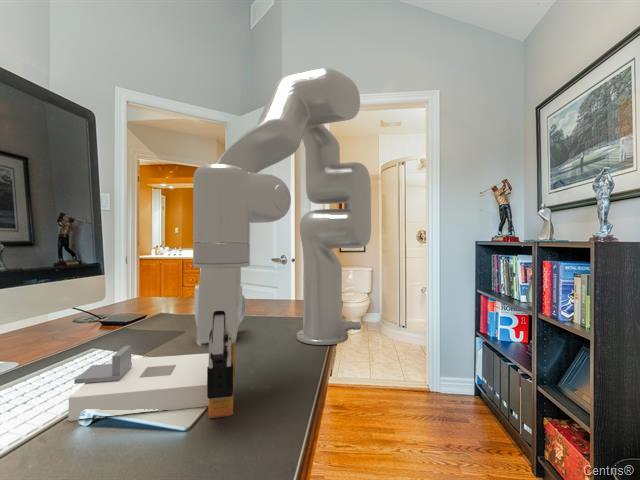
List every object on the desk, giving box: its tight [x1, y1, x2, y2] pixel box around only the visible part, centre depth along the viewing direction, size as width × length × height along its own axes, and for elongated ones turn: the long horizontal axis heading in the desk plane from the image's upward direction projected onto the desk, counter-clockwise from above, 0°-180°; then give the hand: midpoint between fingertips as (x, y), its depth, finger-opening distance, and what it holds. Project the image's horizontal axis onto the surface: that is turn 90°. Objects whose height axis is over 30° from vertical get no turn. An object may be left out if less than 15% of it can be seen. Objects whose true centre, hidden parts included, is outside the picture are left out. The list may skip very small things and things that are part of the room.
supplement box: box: [207, 337, 237, 419], centre depth 44 cm, size 3×3×10 cm
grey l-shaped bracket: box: [73, 345, 132, 385], centre depth 49 cm, size 6×6×3 cm
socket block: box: [67, 352, 209, 422], centre depth 50 cm, size 18×14×3 cm
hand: (221, 386), depth 45 cm, fingers open, 4 cm apart
